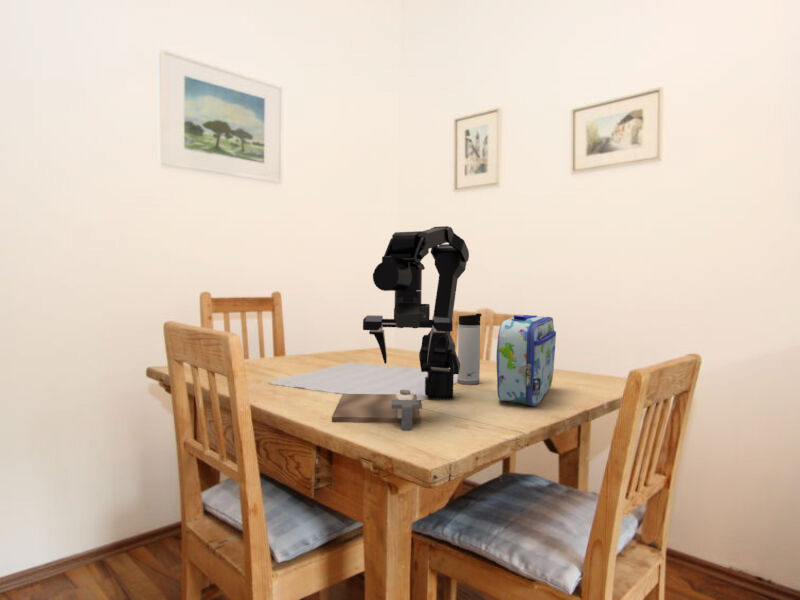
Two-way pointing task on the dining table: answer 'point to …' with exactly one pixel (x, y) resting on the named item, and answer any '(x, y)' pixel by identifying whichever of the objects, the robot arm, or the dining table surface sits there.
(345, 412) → the walnut board
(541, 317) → the lunch box
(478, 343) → the travel mug
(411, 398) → the cream link
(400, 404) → the metal keeper
